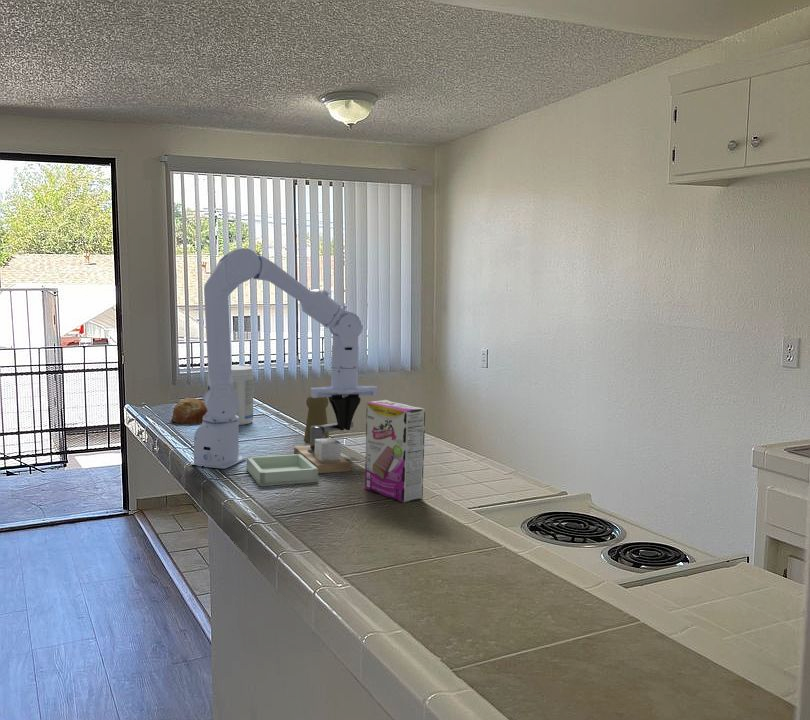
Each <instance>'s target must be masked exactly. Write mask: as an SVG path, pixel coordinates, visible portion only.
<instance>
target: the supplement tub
mask: <svg viewBox="0 0 810 720" xmlns="http://www.w3.org/2000/svg"><path fill="white" fill-rule="evenodd" d="M231 373H232V379H233V389H234V393H235V395H236V397H237V398H238V401H239V409H238V412H237V414H236V415H237V416H238V417H239V426H245V425H249V424H251V423H252V422H253V420H254V372H253V367H252V366H249V365H248V366H246V365H231Z"/></svg>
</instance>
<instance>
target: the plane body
mask: <svg viewBox="0 0 810 720" xmlns="http://www.w3.org/2000/svg"><path fill="white" fill-rule="evenodd" d="M293 454H301V455H302V456H303V457H305V458H306V459H307V460H308V461H309V462H311V463H312V464H313V465H314V466H315V467H317V468H318V474H324V473H325V474H326V473H327V474H328V473H341V472H351V466H352V465H351V462H350V461H349V460H347V459H345V458H344V457H343V456H340V461H339V462H324V463H321V462H320V461H319V460H317V459H316V458H315V457H314V455H315V450H314V449H310V445H296V446H295V445H294V446H293Z"/></svg>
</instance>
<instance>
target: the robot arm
mask: <svg viewBox="0 0 810 720" xmlns="http://www.w3.org/2000/svg"><path fill="white" fill-rule="evenodd" d="M251 279H253V280H259V281H266V282H269V283H271V284H272V285H274V286H275V287H277V288H279V289H280V290H281V291H283V292H285V294H288V295H289V296H290V297H292V298H294V299H295V300H297V301H299V303H300V305H301V309H302V312H303V313H305V314H306V315H308V316H309V317H311V318H312V319H313V320H314V321H316V322H318V323H319V324H320V325H322V326H324V327H325V328H327V329H328V330H329V332H330V334H332V345H331V376H330V377H331V379H330V380H331V382H330V383H331V385H330V386H320V387H310V395H311V397H312V398H318V397H327V398H328V402H329V403H330V405H331V407H332V410H333V412H334V414H335V419H336V423H337V424H338V429H339V430H338V431H344V430H346V431H350V429H351V428H350V426H351V422H353V419H354V416H355V413H356V411H357V409H358V406H359V405H360V403H361V399H362V398H361V397H364V396H372V397H373V396H374V397H375V396H377V397H378V386H375V385H359V349H360V347H359V336H360V334H361V333H362V331H363V326H364V325H362V321H361V320H360V317H359V316H358V315H357V314H356V313H354V312H351V311H347V310H346V309H347V305H345V304H342V303H341V304H340V303H338V302H337V301H336V300H334V299H333V298H331V296H329V294H330V293H329V292H328V291H326V290H325V289H323V290H320V289H318V288H317V289H315V288H314V289H308V288H307V286H304V284H302V283H301V282H300V281H298V280H297V279H295V278H294V277H293V276H292V275H290V274H289V273H287V272H286V271H285V270H284V269H283V268H281V267H279V266H278V264H276V263H275V262H273V261H271V260H270V259H268V258H267V257H265V256H263V255H261V254H257V253H256V252H255V251H254V250H252V249H250V248H248V247H247V248H246V247H240V248H237V249H233V250H231V251H229V252H228V253H226V255H224V256H222V258H220V259H219V260H218V262H217V264H216V266H215V268H214V269H213V271H212V273H211V274H210V276H209V277H208V279H207V280H206V282H205V284H204V287H203V295H204V297H203V299H204V318H205V319H204V320H205V336H206V337H205V338H206V339H205V340H206V357H207V359H206V360H207V388H206V390H205V392H204V395H203V402H204V404H205V407H206V408H207V410H208V412H206V414H205V415H204V416H203V422H202V423H201V425H200V426H199V427H198V428H197V429H196V431H195V432H194V435H193V461H192V462H190V463H189V465H190V466H192V465H198V466H197V467H202V466H204V468H214V469H222V470H223V469H228V468H230V467H233V466H234V465H237V464H238V463H240V462H243V461H245V460H247V456H241V455H239V450H240V449H239V444H240V442H239V438H240V437H239V433H240V431H239V429H240V428H239V426H240V425H239V417H238V416H237V415H236V414H237V412H238V409H239V401H238V398H237V397H236V395H235V393H234V389H233V379H232V373H231V366H232V355H231V351H232V350H231V335H230V333H231V331H230V329H231V328H230V315H229V314H230V308H229V307H230V306H229V296H230V295H231V293H233V292H234V291H235V290H236V289H237V288H238V287H239V286H240V285H241V284H243V283H246V282H248V281H249V280H251ZM360 396H361V397H360Z"/></svg>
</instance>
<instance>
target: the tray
mask: <svg viewBox="0 0 810 720" xmlns="http://www.w3.org/2000/svg"><path fill="white" fill-rule="evenodd" d="M246 470H247V472H248V473H249V474H250V475H251V477H252V478H253V480H255V482H256V484H258V485H259V486H260V487H264V486H265V487H266V486H277V485H278V486H279V485H290V484H305V483H317V482H318V483H319V473H318V468H317V467H315V466H314V465H313V464H312V463H311V462H309V461H308V460H307V459H306V458H305V457H303V456H302V455H301V454H294V453H293V454H281V455H279V454H277V455H276V454H275V455H263V456H261V455H260V456H246Z"/></svg>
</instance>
